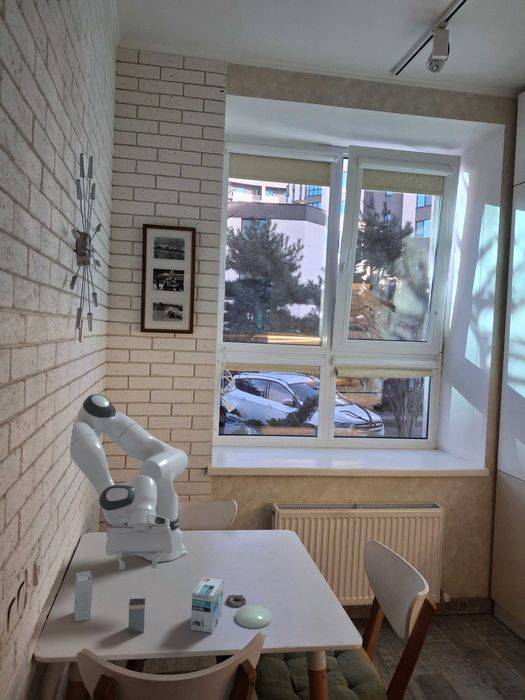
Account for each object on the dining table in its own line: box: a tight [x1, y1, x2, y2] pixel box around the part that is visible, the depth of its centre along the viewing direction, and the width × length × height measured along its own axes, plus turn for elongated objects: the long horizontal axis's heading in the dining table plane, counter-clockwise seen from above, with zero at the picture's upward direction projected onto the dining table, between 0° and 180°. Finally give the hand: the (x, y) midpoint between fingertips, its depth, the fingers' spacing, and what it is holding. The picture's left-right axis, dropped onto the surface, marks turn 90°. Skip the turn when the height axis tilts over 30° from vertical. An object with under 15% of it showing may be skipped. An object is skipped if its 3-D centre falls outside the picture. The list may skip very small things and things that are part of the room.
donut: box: [226, 594, 247, 608], centre depth 167 cm, size 8×8×2 cm
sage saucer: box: [235, 605, 273, 629], centre depth 158 cm, size 11×11×1 cm
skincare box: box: [73, 570, 94, 622], centre depth 156 cm, size 6×4×12 cm
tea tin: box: [127, 597, 146, 635], centre depth 150 cm, size 4×4×8 cm
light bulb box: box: [190, 576, 224, 634], centre depth 155 cm, size 11×7×11 cm, turn 168°
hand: (138, 568), depth 159 cm, fingers open, 8 cm apart
